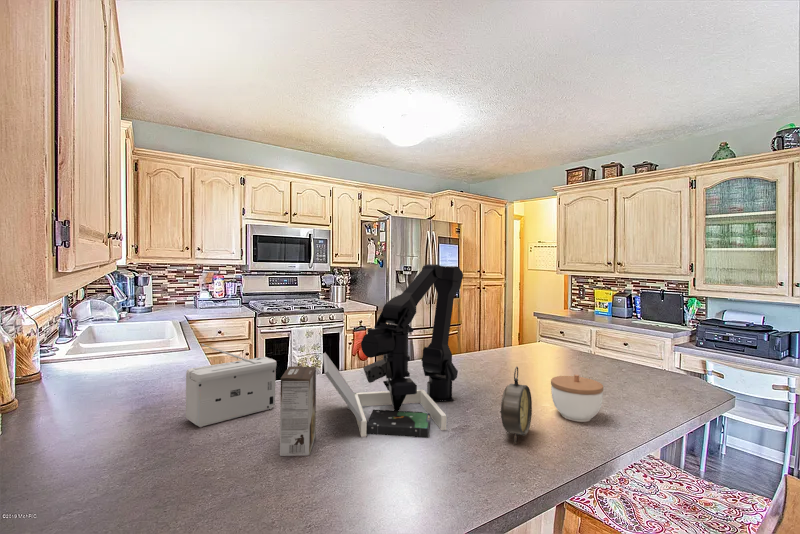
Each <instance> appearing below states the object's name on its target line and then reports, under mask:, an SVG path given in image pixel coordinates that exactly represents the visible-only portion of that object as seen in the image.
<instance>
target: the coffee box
mask: <svg viewBox="0 0 800 534" xmlns="http://www.w3.org/2000/svg"><path fill="white" fill-rule="evenodd" d="M279 403H280V405H279V406H280V407H279V410H280V414H279V415H280V416H279V456H280V457H294V456H295V457H297V456H300V457H302V456H304V457H305V456H311V453H312V449H313V446H314V442H315V439H316V433H317V432H316V419H317V418H316V413H317V411H316V410H317V409H316V407H317V366H302V365H301V366H300V365H299V366H298V365H296V366H288V367H287V369H286V370H285V371H284V373H283V374H282V376H281V377H280V402H279Z"/></svg>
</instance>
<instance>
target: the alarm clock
mask: <svg viewBox="0 0 800 534" xmlns="http://www.w3.org/2000/svg"><path fill="white" fill-rule="evenodd" d="M513 373H514V374H513V381H514V383H509V384H508V385H507V386H506V387H505V388H504V390H503V392H502V396H501V403H500V419H501V423H502V427H503V429H504V430H505V431H506V432H505V433H506V434H507V433H509V434H513V442H512V443H513V445H516V444H517V439H518V435H519V436H526V435H527V434H528V432H529V431H530V428H531V423H532V417H533V416H532V415H533V413H532V412H533V400H532V394H531V390H530V388H529V386H528V385H527V384H519V378H518V377H519V367H518V366H517V365H516V366H515V368H514V372H513Z"/></svg>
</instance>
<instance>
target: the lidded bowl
mask: <svg viewBox="0 0 800 534" xmlns="http://www.w3.org/2000/svg"><path fill="white" fill-rule="evenodd" d="M550 385H551V398H552V402H553V404H554V408H556V410H557V411H558V412H559V413H560V415H561V417H562V418H565V419H566V420H569V421H573V422H577V423H588V422H590V421H591V420H592V418H595V417H596V415H598V413H599V412H600V410H601V407H602V404H603V398H604V397H603V396H604V395H603V394H604V393H603V392H604V385H603V384H602V383H601V382H599V381H597V380H595V379H591V378H586V377H583V376H580V375H579V374H573V375H559V376H554V377H552V378H551V379H550Z"/></svg>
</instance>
